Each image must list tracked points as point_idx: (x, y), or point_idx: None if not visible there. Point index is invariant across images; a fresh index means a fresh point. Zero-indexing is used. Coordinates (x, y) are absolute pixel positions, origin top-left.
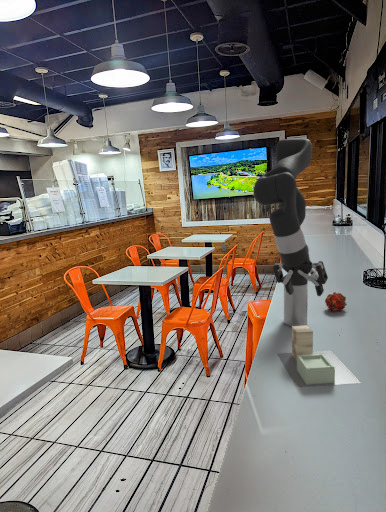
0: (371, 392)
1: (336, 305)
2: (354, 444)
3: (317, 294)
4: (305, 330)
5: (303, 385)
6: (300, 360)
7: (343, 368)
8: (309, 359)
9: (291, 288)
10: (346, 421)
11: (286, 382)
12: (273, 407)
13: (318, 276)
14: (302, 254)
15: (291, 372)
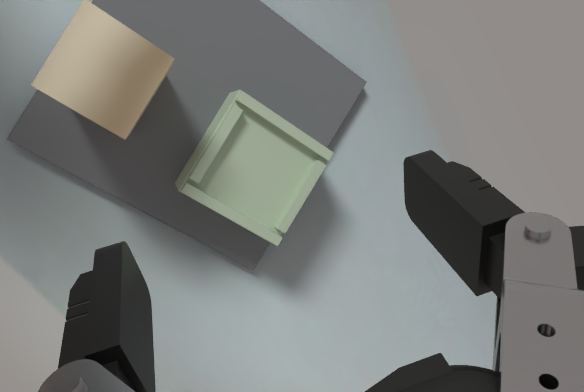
0: (394, 90)
1: None
2: (457, 311)
3: (422, 227)
4: (137, 79)
5: (260, 244)
6: (216, 211)
7: (279, 34)
8: (223, 162)
9: (135, 303)
10: (413, 262)
11: (195, 259)
12: (265, 380)
13: (573, 270)
14: None
15: (176, 215)
